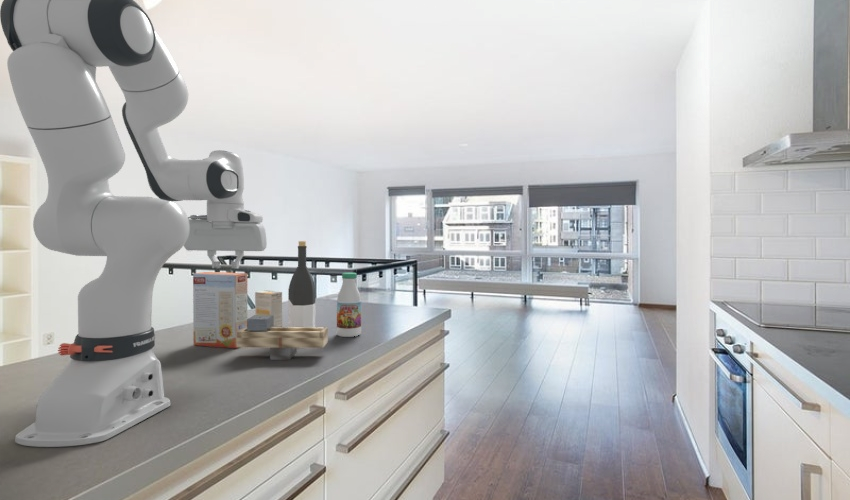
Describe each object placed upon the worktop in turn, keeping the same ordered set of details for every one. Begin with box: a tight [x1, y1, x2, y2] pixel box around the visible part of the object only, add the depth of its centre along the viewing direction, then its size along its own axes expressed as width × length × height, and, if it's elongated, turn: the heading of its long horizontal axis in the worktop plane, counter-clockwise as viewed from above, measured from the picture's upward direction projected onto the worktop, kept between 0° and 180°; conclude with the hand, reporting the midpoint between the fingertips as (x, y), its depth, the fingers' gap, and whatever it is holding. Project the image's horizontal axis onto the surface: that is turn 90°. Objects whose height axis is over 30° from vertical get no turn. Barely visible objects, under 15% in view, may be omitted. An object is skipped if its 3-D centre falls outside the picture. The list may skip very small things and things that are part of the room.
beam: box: [237, 326, 329, 361], centre depth 116 cm, size 22×7×7 cm, turn 92°
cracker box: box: [192, 271, 249, 349], centre depth 126 cm, size 14×6×21 cm, turn 76°
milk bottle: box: [336, 272, 362, 338], centre depth 140 cm, size 8×8×20 cm
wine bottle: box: [287, 240, 316, 327], centre depth 135 cm, size 8×8×30 cm
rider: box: [247, 314, 274, 331], centre depth 115 cm, size 5×6×5 cm
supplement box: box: [254, 289, 283, 327], centre depth 144 cm, size 8×5×13 cm, turn 58°
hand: (225, 268), depth 114 cm, fingers open, 3 cm apart
